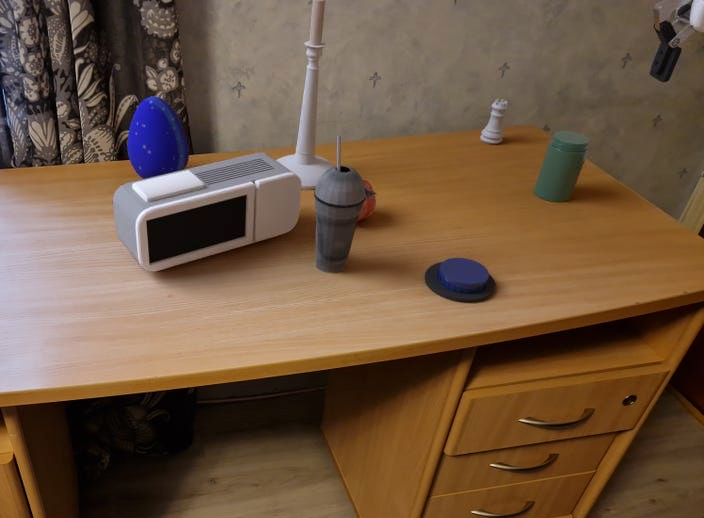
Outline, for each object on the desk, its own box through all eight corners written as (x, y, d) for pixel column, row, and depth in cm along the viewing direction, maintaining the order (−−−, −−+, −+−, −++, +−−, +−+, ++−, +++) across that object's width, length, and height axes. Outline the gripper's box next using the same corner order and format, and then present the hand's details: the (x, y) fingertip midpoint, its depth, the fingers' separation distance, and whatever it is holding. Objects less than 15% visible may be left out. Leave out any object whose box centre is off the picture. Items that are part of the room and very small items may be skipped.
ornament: (197, 180, 124) (196, 97, 114) (162, 198, 119) (157, 112, 109) (154, 163, 129) (149, 82, 119) (119, 179, 124) (111, 96, 114)
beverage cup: (342, 283, 99) (361, 152, 86) (298, 268, 102) (310, 140, 89) (362, 260, 104) (383, 133, 91) (319, 247, 107) (334, 122, 94)
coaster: (479, 263, 104) (480, 259, 103) (505, 301, 96) (506, 298, 96) (416, 265, 103) (416, 261, 103) (436, 304, 95) (437, 300, 95)
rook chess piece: (505, 140, 139) (516, 101, 134) (496, 147, 136) (507, 107, 131) (485, 134, 141) (495, 95, 136) (475, 140, 139) (485, 101, 133)
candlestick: (316, 154, 133) (333, -17, 113) (351, 182, 124) (376, 1, 104) (257, 165, 129) (265, -10, 109) (289, 194, 120) (303, 9, 100)
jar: (554, 183, 124) (574, 127, 118) (578, 199, 120) (600, 142, 113) (525, 188, 123) (543, 132, 116) (549, 204, 118) (569, 147, 111)
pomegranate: (320, 230, 115) (355, 218, 106) (312, 187, 114) (347, 172, 105) (355, 225, 118) (392, 213, 109) (348, 183, 118) (385, 167, 109)
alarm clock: (142, 282, 99) (136, 208, 91) (117, 252, 105) (110, 181, 97) (297, 236, 109) (304, 166, 101) (267, 211, 115) (271, 144, 107)
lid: (427, 271, 101) (430, 261, 100) (468, 263, 102) (471, 254, 101) (454, 297, 96) (457, 287, 95) (496, 289, 97) (499, 279, 96)
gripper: (714, -80, 70) (645, 89, 81) (871, -80, 71) (782, 87, 82) (672, -91, 75) (613, 69, 86) (818, -91, 76) (741, 67, 88)
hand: (695, 77), depth 84 cm, fingers open, 9 cm apart
